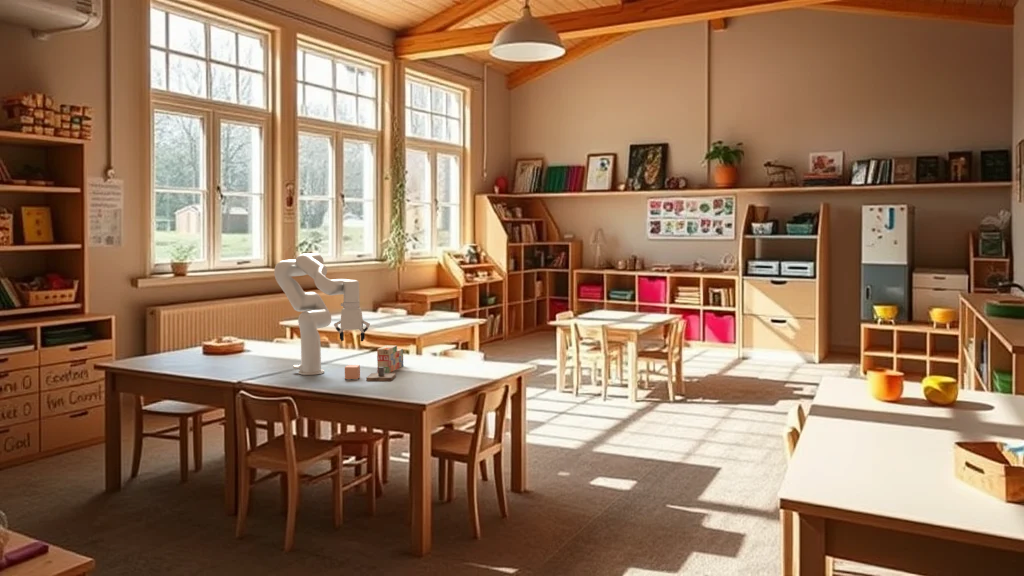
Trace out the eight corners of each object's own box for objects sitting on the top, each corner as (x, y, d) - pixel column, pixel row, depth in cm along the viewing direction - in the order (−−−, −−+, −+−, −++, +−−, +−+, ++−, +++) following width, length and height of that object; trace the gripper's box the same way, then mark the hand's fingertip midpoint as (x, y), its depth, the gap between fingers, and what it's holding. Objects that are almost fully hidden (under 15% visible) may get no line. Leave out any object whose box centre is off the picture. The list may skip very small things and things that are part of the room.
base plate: (366, 380, 391) (366, 369, 391) (371, 376, 403) (371, 365, 403) (391, 380, 391) (391, 369, 390) (395, 376, 403) (395, 365, 402)
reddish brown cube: (344, 379, 395) (344, 367, 394) (347, 377, 400) (347, 365, 400) (357, 379, 394) (357, 367, 394) (360, 377, 400) (359, 365, 400)
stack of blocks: (392, 365, 434) (392, 342, 433) (403, 366, 433) (403, 342, 432) (377, 372, 413) (376, 348, 412) (389, 373, 412) (388, 348, 411)
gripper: (331, 306, 391) (332, 342, 393) (368, 306, 391) (368, 342, 392) (335, 304, 399) (336, 339, 400) (371, 304, 398) (371, 339, 400)
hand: (352, 340), depth 396 cm, fingers open, 9 cm apart
